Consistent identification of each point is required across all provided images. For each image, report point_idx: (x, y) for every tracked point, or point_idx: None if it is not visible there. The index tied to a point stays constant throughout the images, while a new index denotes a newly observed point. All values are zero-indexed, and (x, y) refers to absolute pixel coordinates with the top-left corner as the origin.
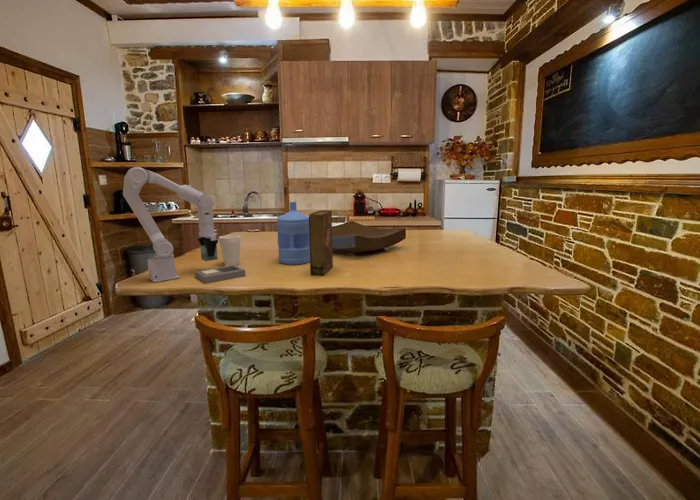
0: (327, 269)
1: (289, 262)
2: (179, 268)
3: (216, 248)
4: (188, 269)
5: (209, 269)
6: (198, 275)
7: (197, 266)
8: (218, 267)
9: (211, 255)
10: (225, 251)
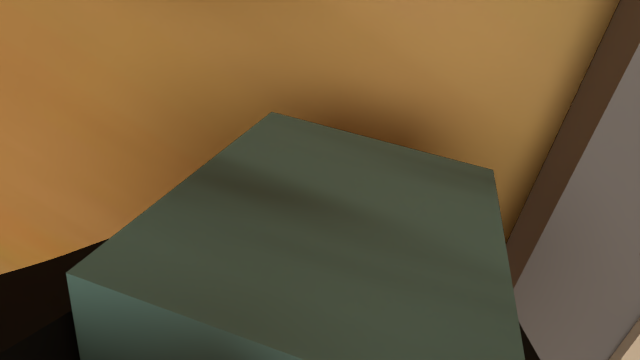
0: None
1: None
2: (64, 220)
3: (515, 340)
4: (141, 207)
5: (547, 302)
6: None
7: (78, 94)
8: (582, 185)
9: None
10: None
